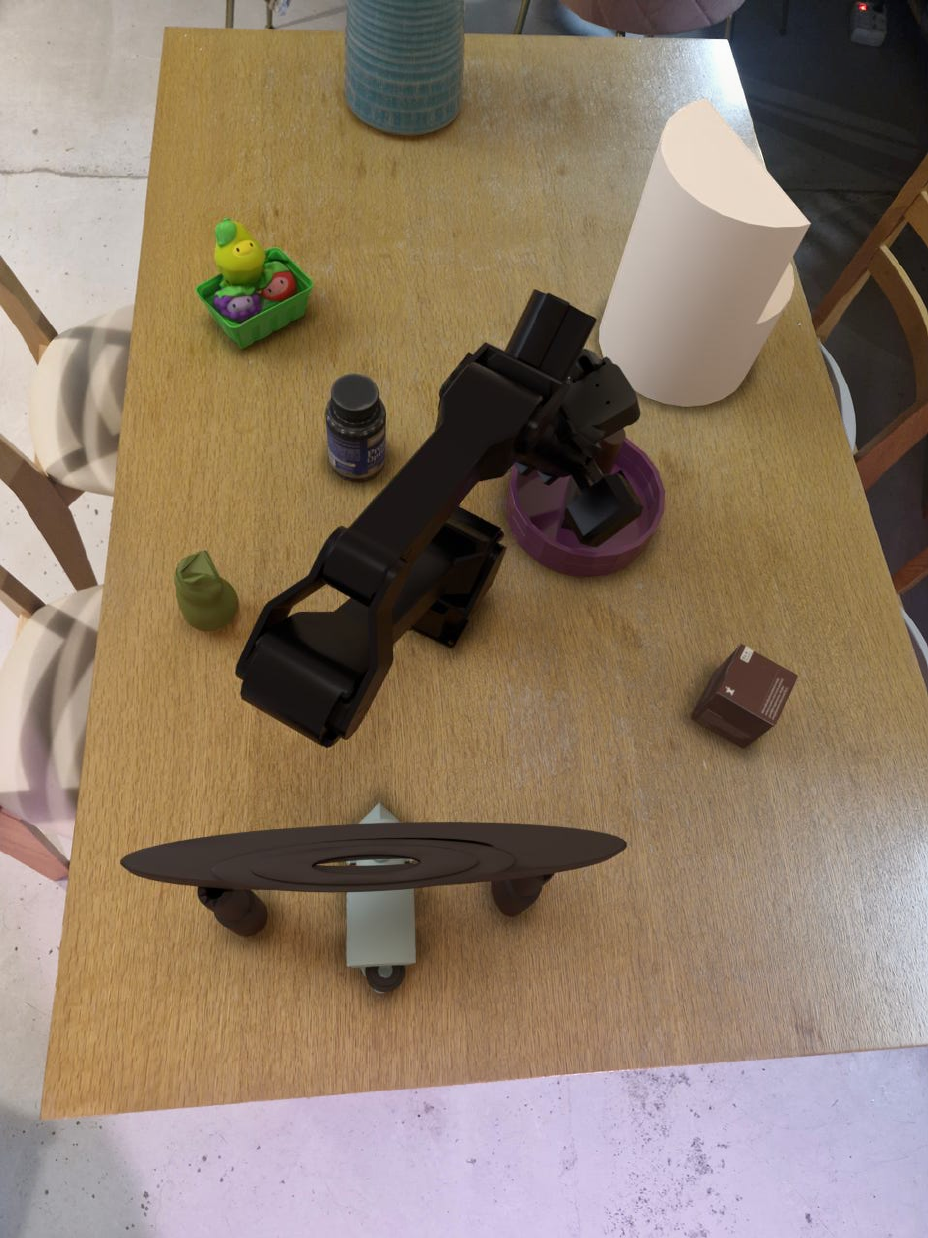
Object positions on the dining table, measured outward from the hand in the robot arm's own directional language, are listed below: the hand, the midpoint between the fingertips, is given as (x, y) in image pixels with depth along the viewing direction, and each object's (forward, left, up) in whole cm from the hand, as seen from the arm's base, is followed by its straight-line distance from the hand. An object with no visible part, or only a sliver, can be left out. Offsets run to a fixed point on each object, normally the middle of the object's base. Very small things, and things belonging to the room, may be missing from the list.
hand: (606, 468), depth 86 cm
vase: (+49, +49, -7) cm, 70 cm away
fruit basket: (+5, +45, -7) cm, 46 cm away
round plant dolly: (-46, +1, -7) cm, 46 cm away
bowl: (-1, +1, -7) cm, 7 cm away
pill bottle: (-7, +25, -7) cm, 27 cm away
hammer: (-1, +1, -7) cm, 7 cm away
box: (-15, -21, -7) cm, 27 cm away
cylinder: (+27, 0, -7) cm, 28 cm away
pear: (-30, +28, -7) cm, 42 cm away
